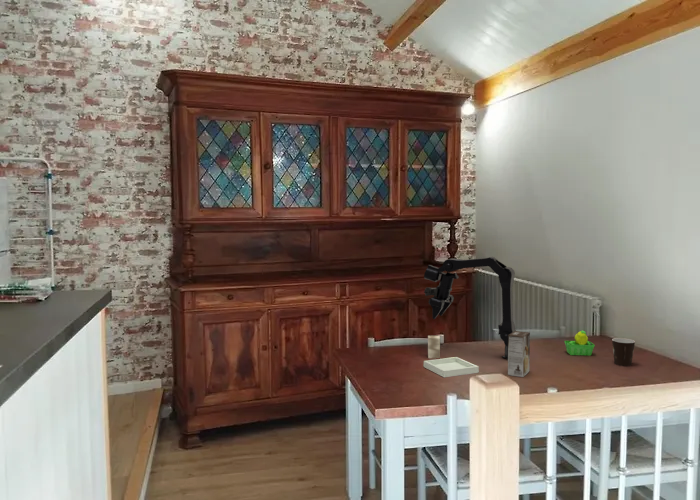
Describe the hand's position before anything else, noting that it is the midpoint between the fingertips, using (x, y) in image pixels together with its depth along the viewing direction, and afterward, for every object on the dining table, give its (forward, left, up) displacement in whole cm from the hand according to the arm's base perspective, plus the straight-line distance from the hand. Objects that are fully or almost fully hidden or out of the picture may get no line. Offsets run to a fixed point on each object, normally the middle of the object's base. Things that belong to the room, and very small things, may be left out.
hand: (437, 317), depth 256 cm
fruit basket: (-32, -54, -16) cm, 65 cm away
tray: (-30, +12, -15) cm, 36 cm away
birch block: (-10, +8, -15) cm, 20 cm away
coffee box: (-45, -10, -16) cm, 49 cm away
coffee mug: (-52, -57, -16) cm, 79 cm away
